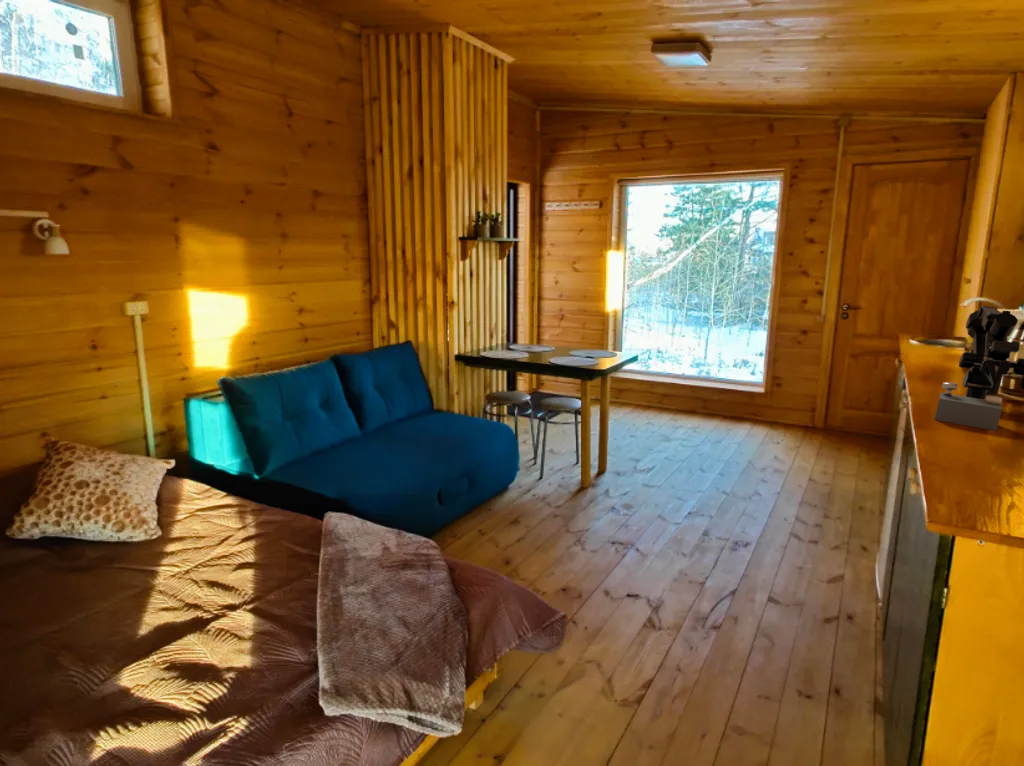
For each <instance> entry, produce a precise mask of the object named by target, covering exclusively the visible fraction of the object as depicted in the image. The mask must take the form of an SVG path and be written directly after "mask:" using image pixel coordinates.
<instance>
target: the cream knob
mask: <svg viewBox="0 0 1024 766" xmlns="http://www.w3.org/2000/svg"><path fill="white" fill-rule="evenodd" d="M985 400H986V402H989V403H993V404H1001V405H1002V401H1003V397H1000V396H997V395H986V397H985Z"/></svg>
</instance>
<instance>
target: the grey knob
mask: <svg viewBox="0 0 1024 766" xmlns="http://www.w3.org/2000/svg"><path fill="white" fill-rule="evenodd" d="M958 386H959V385H958V384H957V383H955V382H949V381H943V382H942V385H941V388H942V389H945V396H951V394H952V391H957V389H958Z"/></svg>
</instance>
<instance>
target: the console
mask: <svg viewBox="0 0 1024 766" xmlns="http://www.w3.org/2000/svg"><path fill="white" fill-rule="evenodd" d="M1002 410H1003V408H1002V403H1001V404H993V403H989V402H986V399H985V400H983V399H977V398H970V397H965V395H964V396H962V395H958V394H952V393H951V396H945V393H944V392H940V394H939V397H938V403H937V407H936V411H935V416H934V420H935V421H940V422H945V423H951V424H956V425H962V426H968V427H972V428H973V427H974V428H979V429H984V430H988V431H995V432H996V431H997V430H998V425H999V422H1000V418H1001V414H1002Z"/></svg>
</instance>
